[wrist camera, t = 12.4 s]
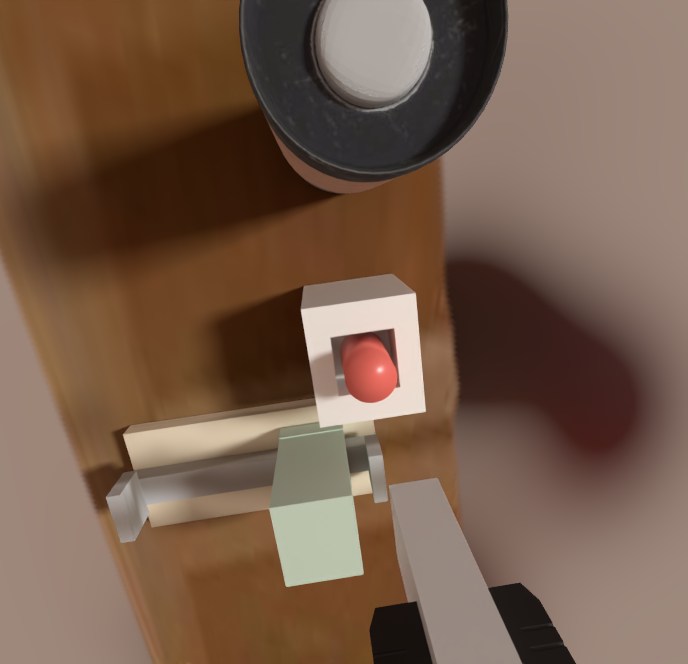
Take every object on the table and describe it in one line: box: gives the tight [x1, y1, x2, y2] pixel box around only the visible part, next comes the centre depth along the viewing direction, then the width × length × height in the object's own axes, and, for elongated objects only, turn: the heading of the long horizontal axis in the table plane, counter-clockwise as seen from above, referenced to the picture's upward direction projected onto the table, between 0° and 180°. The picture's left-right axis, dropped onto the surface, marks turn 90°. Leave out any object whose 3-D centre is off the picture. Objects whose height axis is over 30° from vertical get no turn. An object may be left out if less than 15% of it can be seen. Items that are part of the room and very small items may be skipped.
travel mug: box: [239, 0, 508, 194], centre depth 21 cm, size 8×8×20 cm
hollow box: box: [301, 274, 426, 428], centre depth 31 cm, size 8×7×8 cm
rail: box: [106, 398, 388, 543], centre depth 34 cm, size 9×20×6 cm, turn 98°
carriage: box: [269, 423, 364, 587], centre depth 31 cm, size 6×5×10 cm
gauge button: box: [340, 332, 397, 403], centre depth 27 cm, size 3×3×5 cm
